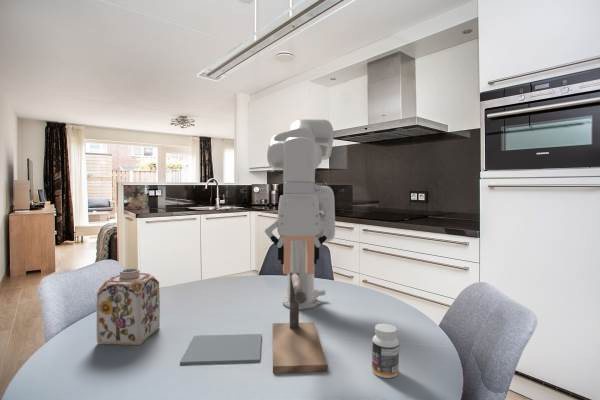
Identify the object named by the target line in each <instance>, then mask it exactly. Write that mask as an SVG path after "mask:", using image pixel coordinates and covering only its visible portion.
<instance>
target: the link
mask: <svg viewBox="0 0 600 400" xmlns="http://www.w3.org/2000/svg"><path fill="white" fill-rule="evenodd" d="M314 240H315V235H312V236H287V235H284V243H283V246H284V264H282V273H283V275H287V274H290V263H291V241H306V266H305V270H306V273H307V274H314V275H315V264H314Z"/></svg>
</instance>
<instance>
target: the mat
mask: <svg viewBox="0 0 600 400" xmlns="http://www.w3.org/2000/svg"><path fill="white" fill-rule="evenodd" d="M261 346H262V333H252V334H251V333H249V334H247V333H246V334H213V335H212V334H207V335H203V334H202V335H193V336H192V339H191V341H190V343H189V344H188V346H187V348H186V349H185V352H184V353H183V355H182V358H181V359H180V361H179V365H203V364H204V365H211V364H213V365H214V364H234V363H235V364H236V363H237V364H240V363H241V364H242V363H244V364H245V363H260V360H261Z"/></svg>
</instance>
